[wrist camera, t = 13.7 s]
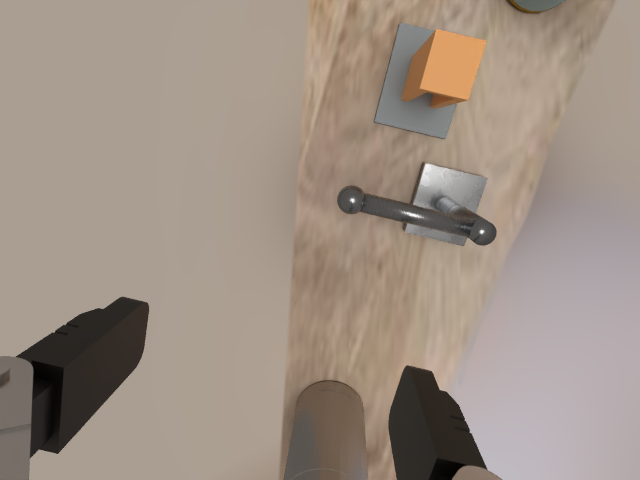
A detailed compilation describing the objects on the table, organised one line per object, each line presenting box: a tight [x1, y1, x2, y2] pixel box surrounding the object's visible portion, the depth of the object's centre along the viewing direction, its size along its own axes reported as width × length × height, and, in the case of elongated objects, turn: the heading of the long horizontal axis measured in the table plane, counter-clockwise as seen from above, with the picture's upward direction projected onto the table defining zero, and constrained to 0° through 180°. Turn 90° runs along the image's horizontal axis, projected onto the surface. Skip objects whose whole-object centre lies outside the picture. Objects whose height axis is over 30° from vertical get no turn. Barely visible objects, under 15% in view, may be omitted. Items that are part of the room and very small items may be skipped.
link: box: [401, 29, 487, 109], centre depth 36 cm, size 4×4×11 cm
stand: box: [337, 162, 496, 246], centre depth 38 cm, size 8×16×14 cm, turn 77°
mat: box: [374, 23, 456, 139], centre depth 41 cm, size 10×8×1 cm
